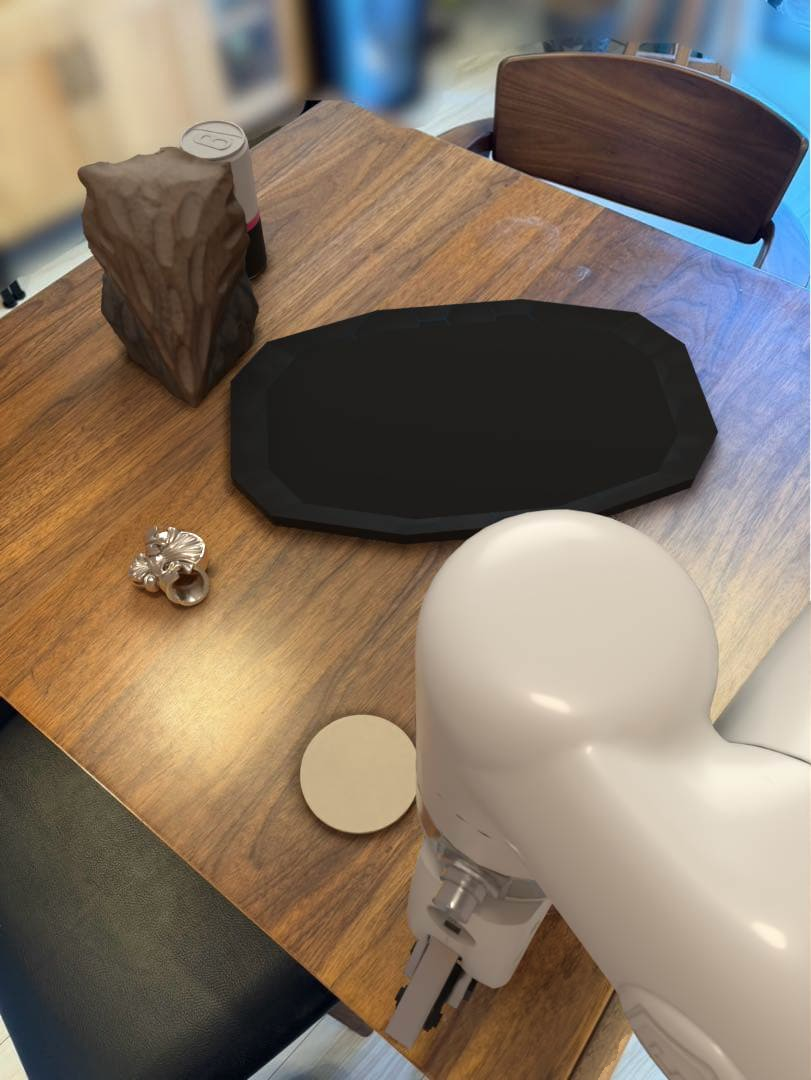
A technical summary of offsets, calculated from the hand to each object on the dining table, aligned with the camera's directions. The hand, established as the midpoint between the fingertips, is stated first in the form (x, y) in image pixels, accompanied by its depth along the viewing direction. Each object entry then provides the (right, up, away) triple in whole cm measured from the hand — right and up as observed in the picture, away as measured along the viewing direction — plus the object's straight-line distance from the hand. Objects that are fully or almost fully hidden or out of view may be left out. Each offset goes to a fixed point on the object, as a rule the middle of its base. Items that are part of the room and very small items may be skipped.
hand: (490, 887), depth 46 cm
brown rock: (-26, +36, +45) cm, 63 cm away
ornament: (-24, +15, +31) cm, 42 cm away
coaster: (-8, 0, +21) cm, 23 cm away
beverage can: (-23, +48, +52) cm, 74 cm away
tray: (+2, +30, +40) cm, 50 cm away
